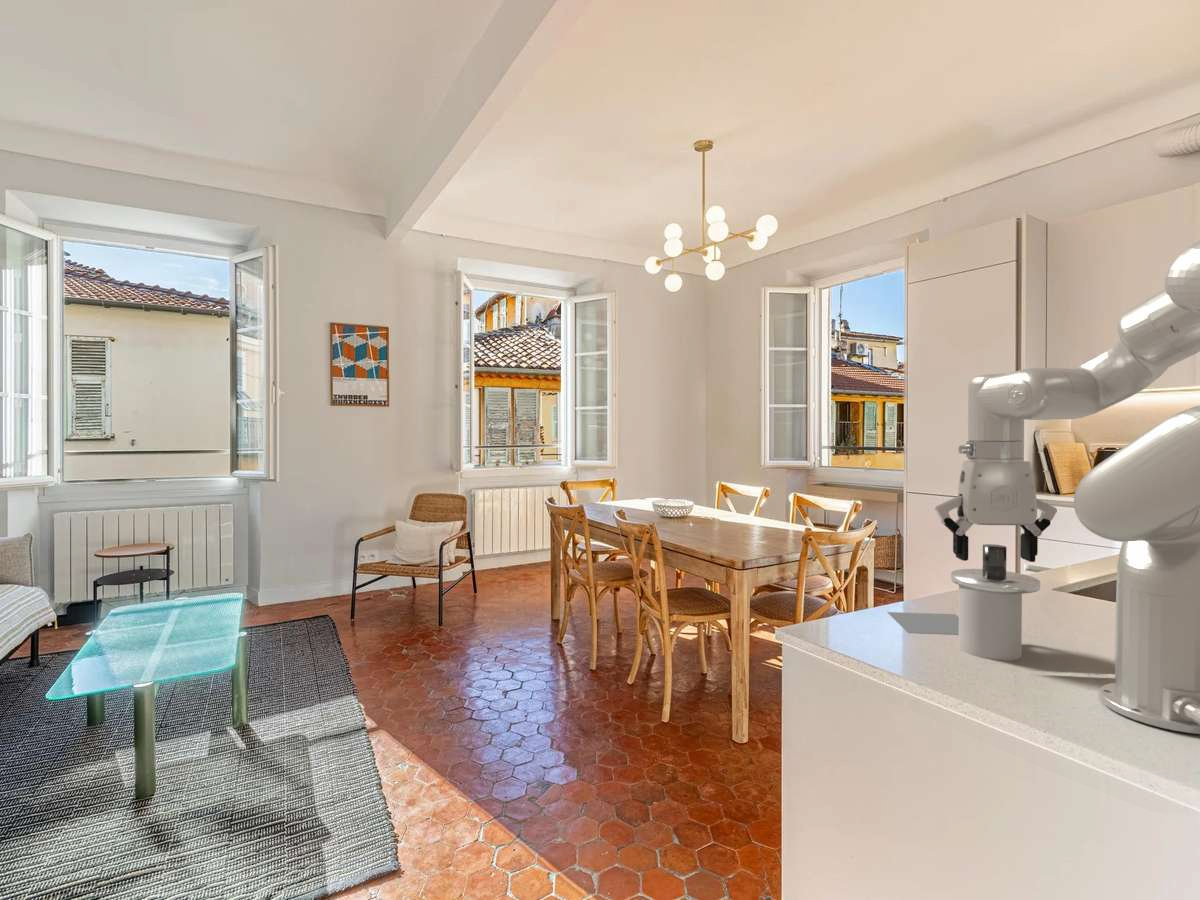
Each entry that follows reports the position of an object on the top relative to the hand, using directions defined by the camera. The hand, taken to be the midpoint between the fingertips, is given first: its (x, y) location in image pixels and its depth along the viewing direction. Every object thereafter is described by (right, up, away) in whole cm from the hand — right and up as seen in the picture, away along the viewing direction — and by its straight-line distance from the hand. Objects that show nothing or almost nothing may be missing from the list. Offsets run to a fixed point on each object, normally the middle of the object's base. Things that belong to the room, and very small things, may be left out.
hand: (994, 559), depth 99 cm
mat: (-3, -14, +13) cm, 20 cm away
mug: (0, -15, +1) cm, 15 cm away
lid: (0, -4, 0) cm, 4 cm away
